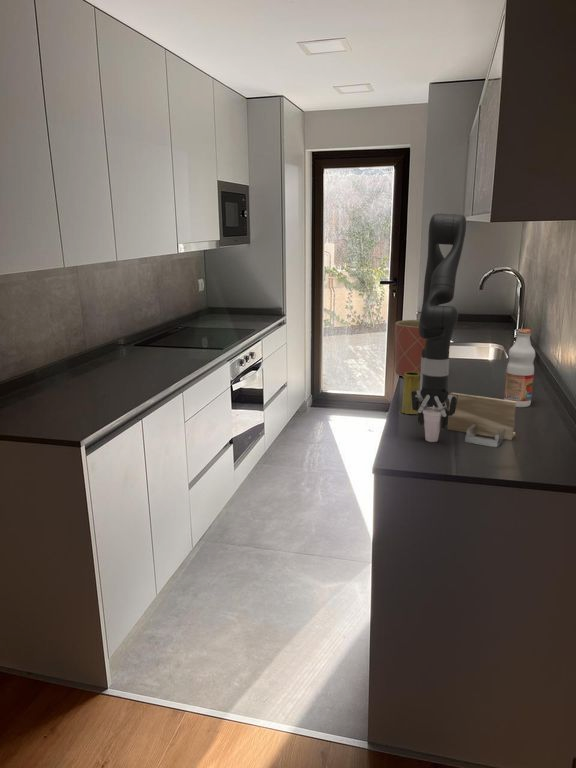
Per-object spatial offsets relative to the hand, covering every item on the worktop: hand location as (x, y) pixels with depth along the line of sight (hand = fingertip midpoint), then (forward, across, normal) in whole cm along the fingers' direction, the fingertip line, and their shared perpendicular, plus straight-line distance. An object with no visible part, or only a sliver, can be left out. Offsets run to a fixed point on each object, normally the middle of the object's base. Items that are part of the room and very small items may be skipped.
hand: (432, 425), depth 181 cm
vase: (+5, +16, -24) cm, 29 cm away
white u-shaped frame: (+5, -14, -8) cm, 17 cm away
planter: (+5, +33, -80) cm, 87 cm away
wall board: (+5, -11, -15) cm, 19 cm away
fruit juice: (+5, -14, -55) cm, 57 cm away
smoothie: (+5, 0, 0) cm, 5 cm away
